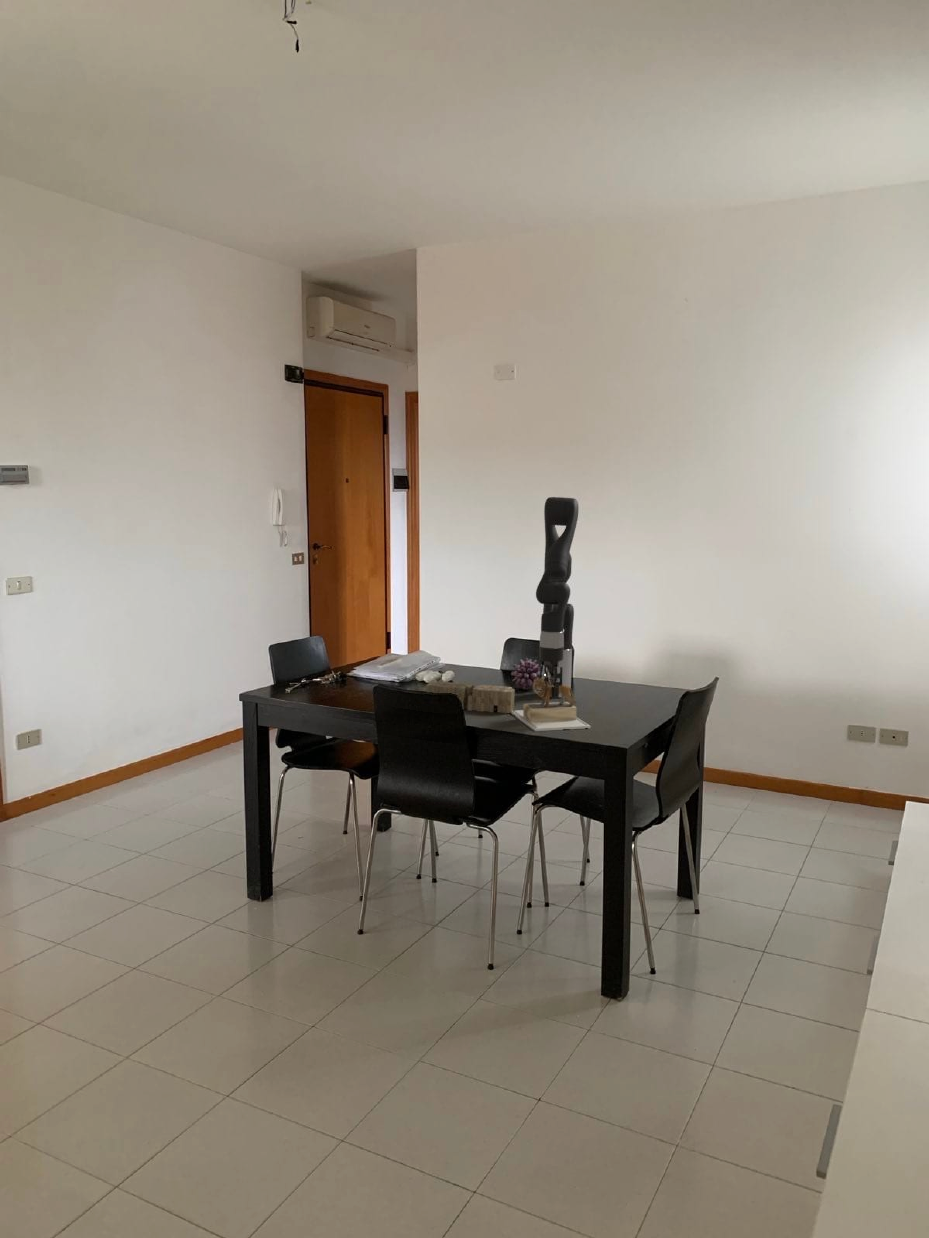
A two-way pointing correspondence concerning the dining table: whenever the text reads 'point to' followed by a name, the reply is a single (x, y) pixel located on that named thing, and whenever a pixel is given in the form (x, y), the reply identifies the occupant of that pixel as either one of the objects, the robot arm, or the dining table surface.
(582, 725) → the mat
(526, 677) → the flower
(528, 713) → the wooden box
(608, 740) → the dining table surface
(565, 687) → the lion figurine
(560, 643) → the robot arm
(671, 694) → the dining table surface
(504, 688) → the block tower
